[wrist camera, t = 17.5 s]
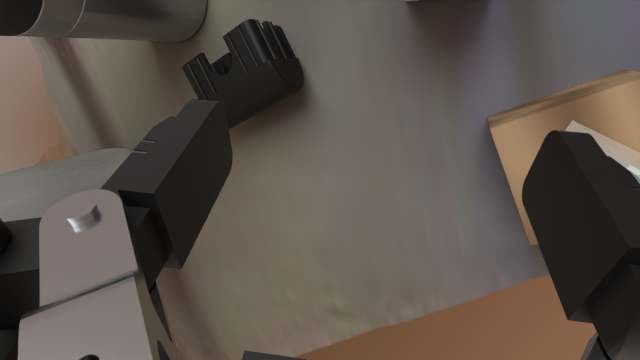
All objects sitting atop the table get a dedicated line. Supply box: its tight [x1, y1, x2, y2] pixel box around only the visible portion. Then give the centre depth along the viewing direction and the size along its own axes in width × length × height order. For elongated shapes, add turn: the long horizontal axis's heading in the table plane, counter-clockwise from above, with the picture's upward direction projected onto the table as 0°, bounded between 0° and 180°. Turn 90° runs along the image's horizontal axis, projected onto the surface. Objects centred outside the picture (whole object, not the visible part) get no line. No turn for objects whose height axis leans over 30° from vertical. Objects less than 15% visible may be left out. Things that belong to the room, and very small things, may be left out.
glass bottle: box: [0, 148, 134, 222], centre depth 39 cm, size 10×10×28 cm
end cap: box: [182, 19, 304, 129], centre depth 38 cm, size 10×7×7 cm
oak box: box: [488, 70, 640, 246], centre depth 30 cm, size 10×10×6 cm
